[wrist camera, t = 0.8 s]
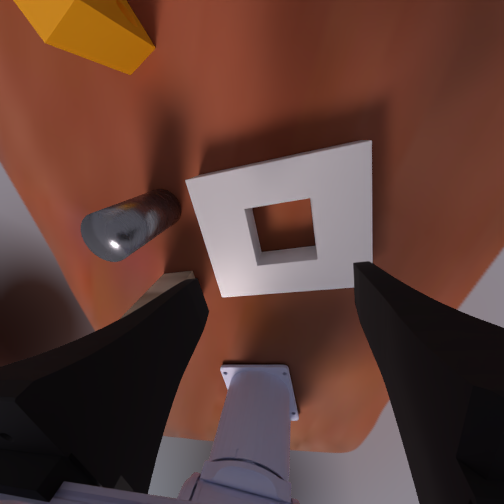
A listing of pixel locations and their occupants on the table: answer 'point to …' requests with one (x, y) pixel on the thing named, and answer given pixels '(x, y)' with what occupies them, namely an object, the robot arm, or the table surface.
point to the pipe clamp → (91, 30)
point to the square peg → (161, 288)
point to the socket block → (284, 190)
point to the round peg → (129, 224)
